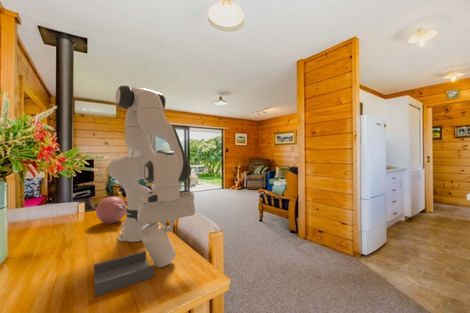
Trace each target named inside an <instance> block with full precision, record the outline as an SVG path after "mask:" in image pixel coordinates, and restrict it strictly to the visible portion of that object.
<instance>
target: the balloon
mask: <svg viewBox="0 0 470 313" xmlns="http://www.w3.org/2000/svg"><path fill="white" fill-rule="evenodd" d="M126 209H127V203H126V202H125V200H124V199H123V198H120V197H118V196H108V197H105V198H103V199H102V200H100V202H98V204H97V206H96V209H95V211H96V212H95V214H96V217H97V219H99V221H101V222H102V223H105V224H115V223H118V222H119V221H121V220H122V219H123V217H124V216H126Z"/></svg>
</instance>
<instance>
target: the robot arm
mask: <svg viewBox="0 0 470 313" xmlns="http://www.w3.org/2000/svg"><path fill="white" fill-rule="evenodd" d="M115 92H116V93H115V94H114V95H115V101H116V104H117V106H118V107H119V108H121V109H123V110H127V111H126V114H125V121H124V132H125V133H124V138H125V142H124V143H125V145H126V146H127V147H128V148H129V149H130V150H133V151H135V152H137V153H138V154H139V156H123V157H121V156H120V157H117V158H113V159H112V160H111V161H110V162H109V164H108V166H107V167H108V169H107V170H108V174H109V176H110V177H111V178H112V179H113V180H114V181H116V182H118V183H119V185H121V186H122V187H123V190H124V192H125V195H126V196H125V197H126V213H125V216H126V217H125V220H124V221H123V222H121V223H120V228H121V229H120V233H119V237H118V241H119V242H128V243H129V242H132V243H135V242H143V241H142V238H143V236H144V234H143V232H142V228H143V226H145V225H146V224H151V223H160V224H161V225H162V226H163V228H164V229H165V231H166V233H167V234H168V233H171V232H173V227H174V225H175V223H176V219H181V218H186V217H191V216H194V215H195V214H196V208H195V202H194V201H195V194H194V193H193V192H191V191H185V192H184V191H181V186H180V183H184V182H186V181H187V180H188V179H189V178H190V176H191V175H192V166H191V163H190V162H189V160H188V158H187V156H186V154H185V152H184V148H183V145H182V143H181V140H180V136H179V135H178V132H177V130H176V128H175V127H174V125H172V124H171V123H170V122H169V121H168V119H167V117H166V115H165V111H164V110H165V108H166V97H165V95H163V94H162V93H160V92H159V91H154V90H152V89H151V90H150V89H149V88H148V89H147V88H141V87H136V86H130V85H120V86H119V87H118V88H117V90H116V91H115ZM151 136H153V137H156V138H159V139H161V140H162V141H165V142H166V143H167V145H169V148H170V149H160V150H157V151H155V150H154V148H153V145H152V143H151ZM139 180H145V181H147V182H148V183H150V184H154V188H153V190H151V189H150V188H149V187H147V186H145V185H143V184H140V183H139ZM180 191H181V192H180ZM167 221H170V223H169V225H166V224H167Z"/></svg>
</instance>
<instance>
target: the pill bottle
mask: <svg viewBox="0 0 470 313" xmlns="http://www.w3.org/2000/svg"><path fill="white" fill-rule="evenodd" d="M142 232H143V234H144V236H143V238H142V241H141V242H142V244H143V245H144V247H145V249H146V251H147V252H148V255H149V256H150V259H151V260H152V262H153V265H154V267H156V268H163V267H166V266H168V265H170V264H171V263H172V262H173V260H175V258H176V250H175V248H174V246H173V243H172V242H171V240H170V237H169V236H168V232H167V233H166V231H165V229H164V227H162V226H159V222H157V223H151V224H146V225H145V226H143V228H142Z"/></svg>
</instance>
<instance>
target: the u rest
mask: <svg viewBox="0 0 470 313" xmlns="http://www.w3.org/2000/svg"><path fill="white" fill-rule="evenodd" d="M146 251H147V250H144V251H140V252H136V253H133V254H129V255H125V256H120V257H117V258H114V259H110V260H106V261H101V262H98V263H94V264H93V275H94V276H93V277H94V284H93V285H94V297H98V296H102V295H105V294H107V293H111V292H113V291H114V292H115V291H117V290H120V289H122V288H125V287H129V286H131V285H135V284H137V283H140V282H143V281H146V280H150V279H152V278H154V277H155V265H154V264H152V265H149V262H148V261H147V253H146Z"/></svg>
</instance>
